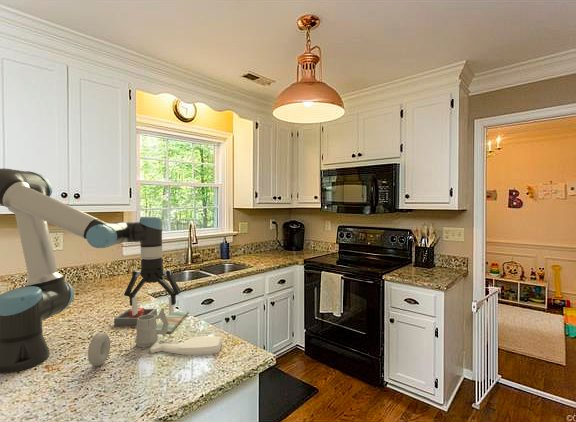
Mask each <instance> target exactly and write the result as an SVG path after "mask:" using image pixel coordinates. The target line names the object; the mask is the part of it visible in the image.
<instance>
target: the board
mask: <svg viewBox="0 0 576 422" xmlns="http://www.w3.org/2000/svg"><path fill="white" fill-rule="evenodd" d="M189 314H190V312H189V311H174V312H173V313H172V314H171V315H169V314H168V315H166V318H167V320H168V323H169V325H168V331H167V332H166V334H173V332H174V331H175V330H176V329H177V327H178V326H179V325H180V324H181V323H182V322H183V321H184V320H185V319H186V317H187V316H188V315H189ZM183 319H184V320H183ZM182 320H183V321H182ZM162 327H163V321H162V320H161V321H160V322H159V323H157V326H156V329H160V330H161V329H162ZM175 328H176V329H175Z"/></svg>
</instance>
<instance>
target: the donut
mask: <svg viewBox="0 0 576 422" xmlns="http://www.w3.org/2000/svg"><path fill="white" fill-rule="evenodd" d="M110 351H111V339H110V336H109V335H108V334H107V333H106V332H105V333H104V332H100V333H96V334H95V335H94V336H93V338H92V339H91V341H90V342H89V346H88V350H87V359H88V362H89V364H90V365H91V366H93V367H99V366H102V365H103V364H104V363H105V362H106V361H107V359H108V357H109V354H110Z"/></svg>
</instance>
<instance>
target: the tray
mask: <svg viewBox="0 0 576 422" xmlns="http://www.w3.org/2000/svg"><path fill="white" fill-rule="evenodd" d="M130 310H132V308H128V309H127V310H125V311H124V312H122V313H120V314H119V315H117V316H116V317H115V318H114V319H113V326H114V327H120V326H121V327H127V326H128V327H129V326H130V327H136V325H137V318H129V311H130ZM148 314H152V315H155V316H158V308H144V315H148Z"/></svg>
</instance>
